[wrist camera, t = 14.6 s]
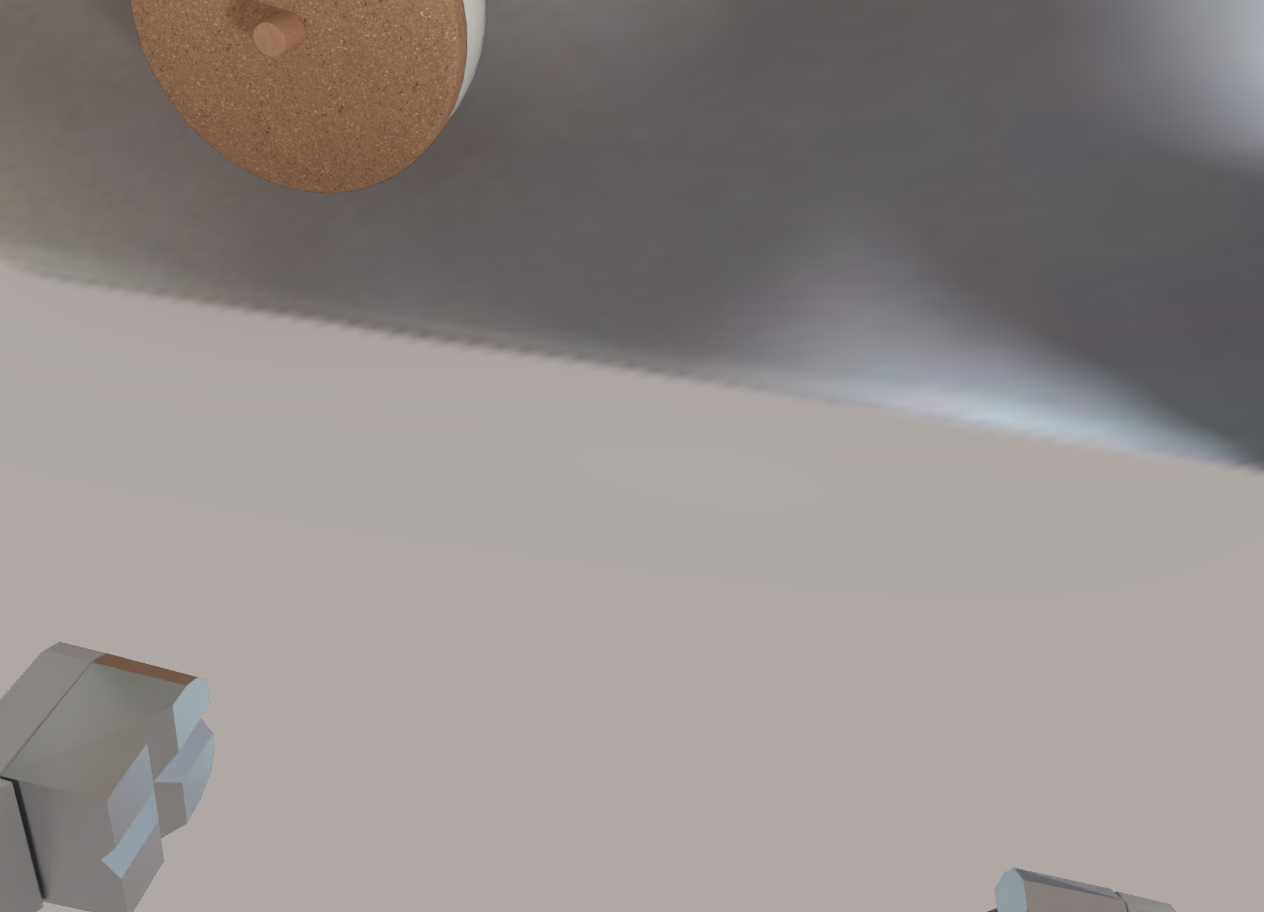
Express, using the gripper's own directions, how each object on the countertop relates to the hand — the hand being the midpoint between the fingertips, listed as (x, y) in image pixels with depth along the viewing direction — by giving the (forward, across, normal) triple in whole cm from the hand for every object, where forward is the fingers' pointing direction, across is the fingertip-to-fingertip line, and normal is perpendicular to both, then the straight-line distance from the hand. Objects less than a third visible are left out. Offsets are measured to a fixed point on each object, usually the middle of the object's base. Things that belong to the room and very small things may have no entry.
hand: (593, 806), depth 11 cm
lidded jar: (+34, -15, -1) cm, 37 cm away
